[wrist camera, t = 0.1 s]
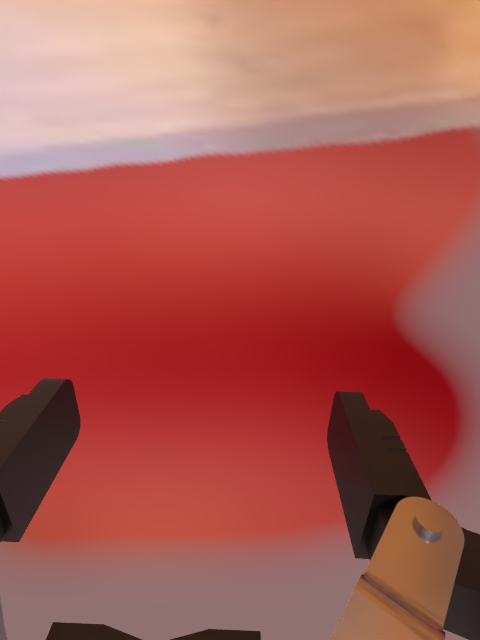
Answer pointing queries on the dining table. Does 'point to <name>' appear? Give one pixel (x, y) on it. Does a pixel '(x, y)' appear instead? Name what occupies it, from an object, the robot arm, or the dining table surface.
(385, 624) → the robot arm
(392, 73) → the dining table surface
